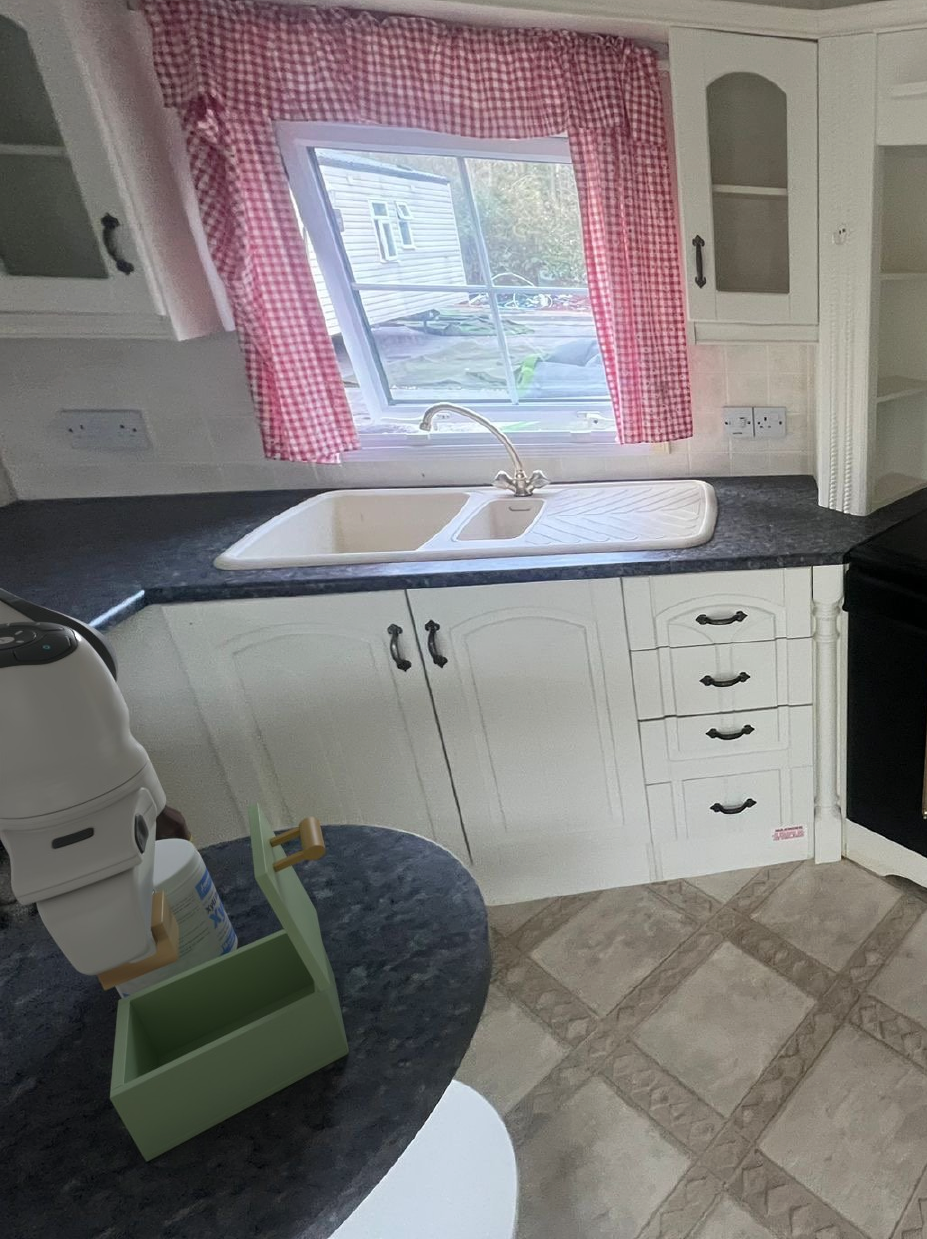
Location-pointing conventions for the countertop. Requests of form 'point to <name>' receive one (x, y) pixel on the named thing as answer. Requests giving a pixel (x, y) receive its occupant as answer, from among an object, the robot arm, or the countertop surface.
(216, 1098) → the chest
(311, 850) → the lid
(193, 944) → the supplement tub
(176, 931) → the block
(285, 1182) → the countertop surface
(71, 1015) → the countertop surface
